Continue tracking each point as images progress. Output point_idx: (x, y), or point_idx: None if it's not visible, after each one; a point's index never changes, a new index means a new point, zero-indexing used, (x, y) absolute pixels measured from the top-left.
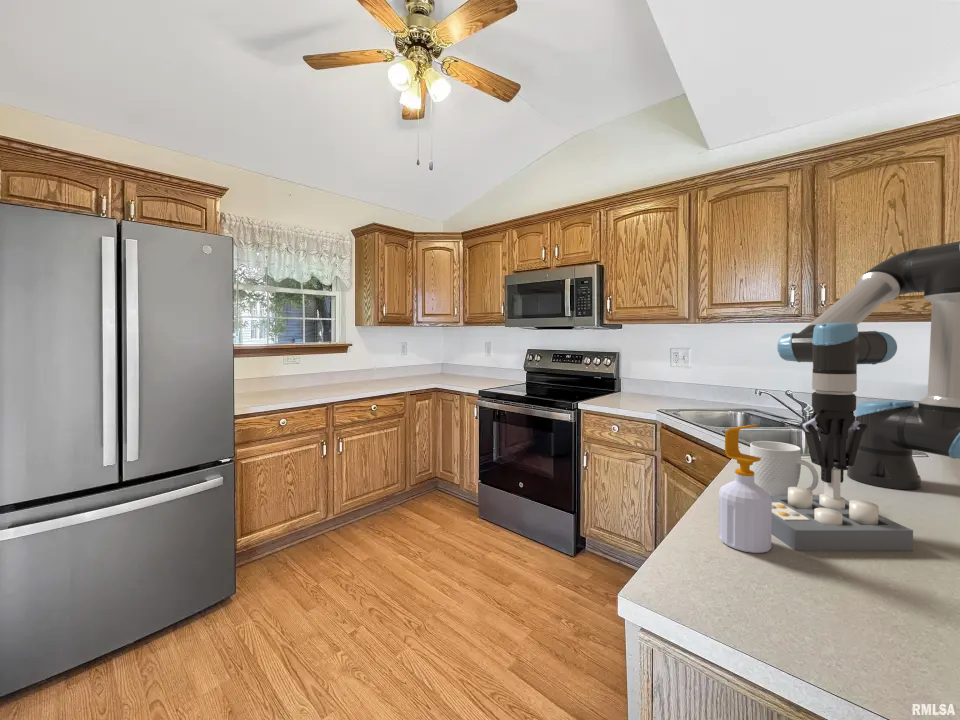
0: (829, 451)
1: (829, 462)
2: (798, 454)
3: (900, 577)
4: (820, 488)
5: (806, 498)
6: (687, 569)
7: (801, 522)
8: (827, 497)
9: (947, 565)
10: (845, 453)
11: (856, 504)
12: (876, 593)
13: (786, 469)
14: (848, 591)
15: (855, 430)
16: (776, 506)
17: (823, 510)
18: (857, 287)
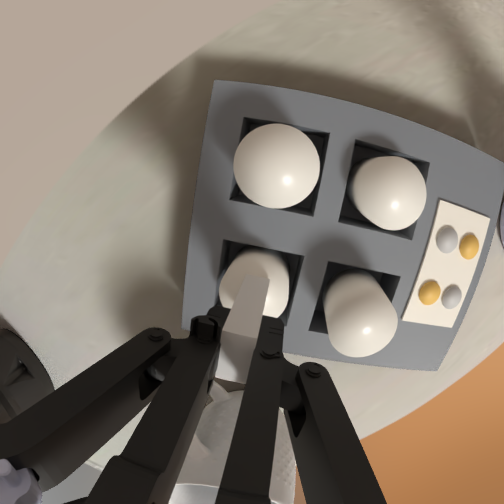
0: (269, 418)
1: (274, 369)
2: (195, 472)
3: (378, 23)
4: None
5: (373, 289)
6: None
7: (467, 195)
8: (270, 297)
9: (227, 35)
10: (164, 382)
11: (308, 167)
12: (458, 19)
13: None
14: (490, 41)
15: (23, 465)
16: (438, 296)
17: (397, 206)
18: None
